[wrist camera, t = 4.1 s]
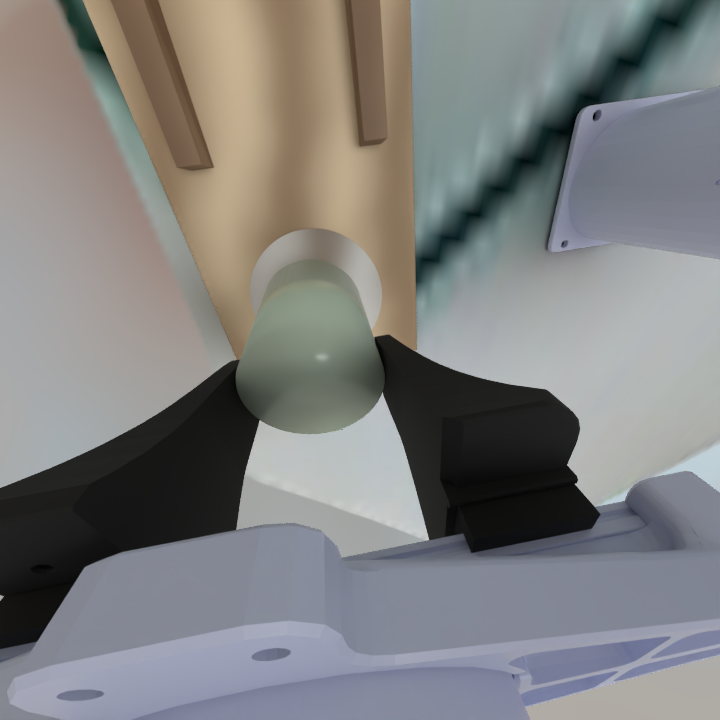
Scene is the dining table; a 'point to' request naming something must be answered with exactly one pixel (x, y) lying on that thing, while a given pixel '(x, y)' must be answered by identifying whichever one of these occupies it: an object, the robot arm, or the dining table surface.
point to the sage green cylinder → (310, 352)
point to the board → (278, 141)
